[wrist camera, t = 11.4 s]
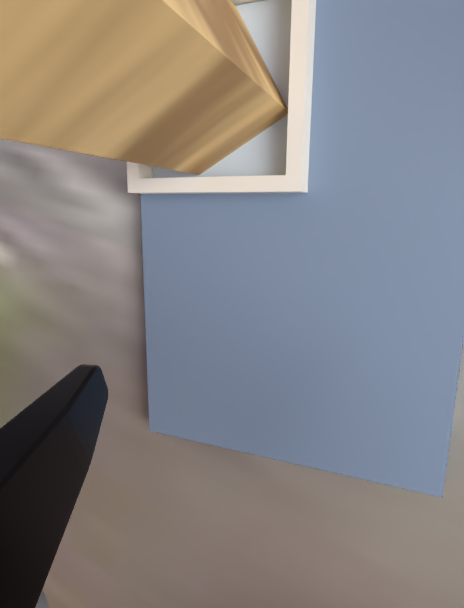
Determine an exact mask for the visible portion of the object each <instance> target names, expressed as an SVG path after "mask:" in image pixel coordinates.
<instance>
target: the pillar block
mask: <svg viewBox="0 0 464 608" xmlns="http://www.w3.org/2000/svg"><path fill="white" fill-rule="evenodd" d="M287 114H288V108H287V106H286V104H285V102H284V100H283V98H282V96H281V94H280V92H279V90H278V88H277V86H276V84H275V82H274V80H273V78H272V76H271V74H270V72H269V70H268V68H267V66H266V64H265V62H264V61H263V59H262V57H261V55H260V53H259V51H258V49H257V47H256V45H255V43H254V41H253V39H252V37H251V35H250V33H249V31H248V29H247V27H246V25H245V23H244V21H243V19H242V17H241V15H240V13H239V11H238V9H237V8H236V7H235V5H234V4H233V3H232V2H231V0H0V138H2V139H7V140H13V141H18V142H23V143H29V144H34V145H40V146H45V147H51V148H56V149H62V150H67V151H73V152H78V153H83V154H89V155H94V156H100V157H105V158H111V159H116V160H122V161H127V162H133V163H138V164H144V165H149V166H154V167H160V168H165V169H171V170H176V171H182V172H187V173H193V174H198V175H200V174H202V173H203V172H205V171H206V170H208V169H209V168H211V167H212V166H213V165H215V164H216V163H218V162H219V161H221V160H222V159H224V158H225V157H226V156H228V155H229V154H231V153H232V152H234V151H235V150H237V149H238V148H240V147H241V146H242V145H244V144H245V143H247V142H248V141H250V140H251V139H253V138H254V137H255V136H257V135H258V134H260V133H261V132H263V131H264V130H266V129H267V128H269V127H270V126H271V125H273V124H274V123H276V122H277V121H279V120H280V119H282V118H283V117H284V116H286V115H287Z"/></svg>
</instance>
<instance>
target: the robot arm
mask: <svg viewBox="0 0 464 608" xmlns="http://www.w3.org/2000/svg"><path fill="white" fill-rule="evenodd" d="M107 400H108V388H107V385H106V382H105V379H104V376H103V373H102V370H101V368H100V367H99V366H97V365H86V364H82V365H80V366H78V367H76V368H75V369H74V370H73V371H71V372H70V373H69V374H68V375H66V376H65V377H64V378H63V379H61V380H60V381H59V382H58V383H56V384H55V385H54V386H53V387H51V388H50V389H49V390H48V391H46V392H45V393H44V394H43V395H41V396H40V397H39V398H38V399H36V400H35V401H34V402H33V403H32V404H30V405H29V406H28V407H27V408H25V409H24V410H23V411H22V412H20V413H19V414H18V415H17V416H15V417H14V418H13V419H12V420H10V421H9V422H8V423H7V424H5V425H4V426H3V427H2V428H0V608H35V607H36V604H37V602H38V599H39V596H40V594H41V591H42V589H43V586H44V583H45V581H46V578H47V576H48V573H49V570H50V568H51V565H52V563H53V560H54V557H55V555H56V552H57V550H58V547H59V544H60V542H61V539H62V537H63V534H64V532H65V529H66V526H67V524H68V521H69V519H70V516H71V513H72V511H73V508H74V506H75V503H76V500H77V498H78V495H79V493H80V490H81V487H82V485H83V482H84V480H85V477H86V474H87V472H88V469H89V466H90V463H91V460H92V456H93V453H94V449H95V445H96V441H97V438H98V434H99V430H100V426H101V423H102V419H103V415H104V411H105V407H106V404H107Z"/></svg>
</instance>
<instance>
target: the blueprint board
mask: <svg viewBox="0 0 464 608" xmlns="http://www.w3.org/2000/svg"><path fill="white" fill-rule="evenodd" d="M231 2H232V3H233V4H234V5H235V7H236V8H237V9H238V11H239V13H240V15H241V17H242V19H243V21H244V23H245V25H246V27H247V29H248V31H249V33H250V35H251V37H252V39H253V41H254V43H255V45H256V47H257V49H258V51H259V53H260V55H261V57H262V59H263V61H264V62H265V64H266V66H267V68H268V70H269V72H270V74H271V76H272V78H273V80H274V82H275V84H276V86H277V88H278V90H279V92H280V94H281V96H282V98H283V100H284V102H285V104H286V106H287V108H288V114H287V115H286V116H284V117H283V118H282V119H280V120H279V121H277V122H276V123H274V124H273V125H271V126H270V127H269V128H267V129H266V130H264V131H263V132H261V133H260V134H258V135H257V136H255V137H254V138H253V139H251V140H250V141H248V142H247V143H245V144H244V145H242V146H241V147H240V148H238V149H237V150H235V151H234V152H232V153H231V154H229V155H228V156H226V157H225V158H224V159H222V160H221V161H219V162H218V163H216V164H215V165H213V166H212V167H211V168H209V169H208V170H206V171H205V172H203V173H202V174H200V175H198V174H193V173H187V172H182V171H176V170H171V169H165V168H160V167H154V166H149V165H144V164H138V163H133V162H127V184H128V193H137V194H140V196H141V222H142V249H143V275H144V302H145V328H146V355H147V381H148V408H149V431H152V432H156V433H161V434H165V435H170V436H174V437H178V438H183V439H187V440H192V441H196V442H200V443H205V444H209V445H214V446H218V447H222V448H227V449H231V450H236V451H240V452H244V453H249V454H253V455H258V456H262V457H266V458H271V459H275V460H280V461H284V462H288V463H293V464H297V465H302V466H306V467H310V468H315V469H319V470H324V471H328V472H332V473H337V474H341V475H346V476H350V477H354V478H359V479H363V480H368V481H372V482H376V483H381V484H385V485H390V486H394V487H398V488H403V489H407V490H412V491H416V492H420V493H425V494H429V495H434V496H438V497H443V489H444V482H445V474H446V467H447V459H448V452H449V444H450V437H451V429H452V422H453V414H454V407H455V399H456V392H457V384H458V377H459V369H460V362H461V354H462V347H463V339H464V0H231Z"/></svg>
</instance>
